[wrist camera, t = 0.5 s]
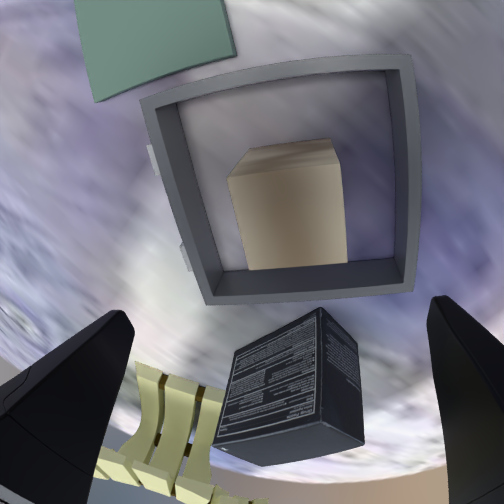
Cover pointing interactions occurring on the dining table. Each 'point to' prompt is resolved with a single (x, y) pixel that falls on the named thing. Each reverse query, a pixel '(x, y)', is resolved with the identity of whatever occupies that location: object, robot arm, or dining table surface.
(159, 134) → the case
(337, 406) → the small box
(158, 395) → the slatted curved stool
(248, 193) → the block
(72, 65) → the dining table surface
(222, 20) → the mat
